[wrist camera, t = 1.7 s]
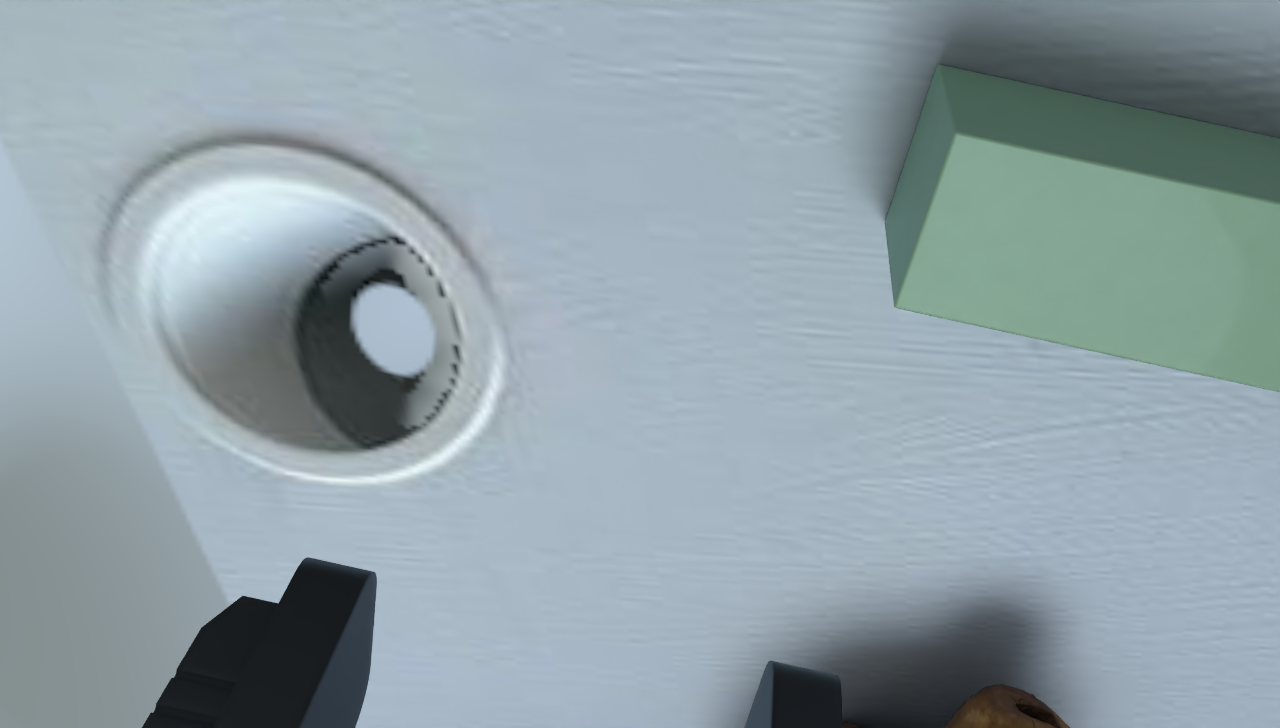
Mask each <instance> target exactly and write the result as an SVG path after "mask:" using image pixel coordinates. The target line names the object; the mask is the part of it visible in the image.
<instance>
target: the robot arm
mask: <svg viewBox="0 0 1280 728" xmlns="http://www.w3.org/2000/svg"><path fill="white" fill-rule="evenodd" d="M376 586H377V578H376V573H375V572H372V571H367V570H363V569H358V568H354V567H349V566H345V565H340V564H336V563H331V562H327V561H322V560H317V559H313V558H308V557H307V558H305V559H304V560H303V561H302V562H301V564H300V565H299V567H298V568H297V570H296V572H295V574H294V576H293V577H292V579H291V581H290V583H289V585H288V587H287V589H286V591H285V592H284V594H283V596H282V598H281V600H280V602H279V604H278V603H273V602H269V601H264V600H260V599H255V598H251V597H246V596H242V597H241V598H239V599H238V600H237V601H235V602H234V603H233V604H232V605H230V606H229V607H228V608H226V609H225V610H224V611H223V612H221V613H220V614H219V615H217V616H216V617H215V618H213V619H212V620H211V621H210V622H208V623H207V624H206V625H204V626H203V627H202V628H201V630H200V631H199V633H198V635H197V636H196V638H195V640H194V641H193V643H192V645H191V646H190V648H189V650H188V651H187V653H186V655H185V657H184V658H183V660H182V661H181V663H180V665H179V666H178V668H177V672H176V675H175V677H174V678H172V679H171V680H170V681H169V683H168V685H167V687H166V688H165V690H164V692H163V693H162V695H161V697H160V698H159V700H158V702H157V703H156V708H155V711H154V713H150V715H149V717H148V718H147V720H146V722H145V723H144V725H143V727H142V728H355V726H356V723H357V721H358V718H359V715H360V712H361V708H362V705H363V701H364V697H365V694H366V689H367V685H368V680H369V674H370V666H371V653H372V640H373V626H374V613H375V600H376ZM745 728H842V696H841V683H840V679H839V677H838V676H837V675H833V674H828V673H824V672H819V671H815V670H810V669H806V668H801V667H797V666H792V665H788V664H783V663H779V662H774V661H769V662H768V664H767V666H766V668H765V671H764V673H763V676H762V679H761V682H760V685H759V688H758V691H757V693H756V696H755V699H754V702H753V705H752V708H751V711H750V714H749V716H748V719H747V722H746V725H745Z"/></svg>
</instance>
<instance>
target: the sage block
mask: <svg viewBox="0 0 1280 728" xmlns="http://www.w3.org/2000/svg"><path fill="white" fill-rule="evenodd" d="M885 228H886V237H887V246H888V255H889V264H890V273H891V282H892V291H893V300H894V307H896V308H898V309H903V310H907V311H912V312H917V313H921V314H926V315H930V316H935V317H939V318H944V319H948V320H953V321H958V322H962V323H967V324H971V325H976V326H980V327H985V328H990V329H994V330H999V331H1003V332H1008V333H1012V334H1017V335H1022V336H1026V337H1031V338H1035V339H1040V340H1044V341H1049V342H1053V343H1058V344H1063V345H1067V346H1072V347H1076V348H1081V349H1085V350H1090V351H1095V352H1099V353H1104V354H1108V355H1113V356H1117V357H1122V358H1127V359H1131V360H1136V361H1140V362H1145V363H1149V364H1154V365H1158V366H1163V367H1168V368H1172V369H1177V370H1181V371H1186V372H1190V373H1195V374H1200V375H1204V376H1209V377H1213V378H1218V379H1222V380H1227V381H1232V382H1236V383H1241V384H1245V385H1250V386H1254V387H1259V388H1263V389H1268V390H1273V391H1277V392H1280V138H1275V137H1270V136H1266V135H1261V134H1257V133H1252V132H1247V131H1243V130H1238V129H1234V128H1229V127H1224V126H1220V125H1215V124H1211V123H1206V122H1201V121H1197V120H1192V119H1188V118H1183V117H1179V116H1174V115H1169V114H1165V113H1160V112H1156V111H1151V110H1146V109H1142V108H1137V107H1133V106H1128V105H1123V104H1119V103H1114V102H1110V101H1105V100H1101V99H1096V98H1091V97H1087V96H1082V95H1078V94H1073V93H1068V92H1064V91H1059V90H1055V89H1050V88H1045V87H1041V86H1036V85H1032V84H1027V83H1022V82H1018V81H1013V80H1009V79H1004V78H1000V77H995V76H990V75H986V74H981V73H977V72H972V71H967V70H963V69H958V68H954V67H949V66H944V65H938V66H937V67H936V69H935V72H934V75H933V78H932V81H931V84H930V87H929V90H928V93H927V97H926V100H925V103H924V106H923V109H922V112H921V115H920V118H919V121H918V124H917V127H916V130H915V133H914V136H913V139H912V142H911V145H910V148H909V151H908V154H907V157H906V160H905V163H904V166H903V169H902V173H901V176H900V179H899V182H898V185H897V188H896V191H895V194H894V197H893V200H892V203H891V206H890V209H889V212H888V215H887V218H886V221H885Z"/></svg>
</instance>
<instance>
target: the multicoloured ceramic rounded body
mask: <svg viewBox="0 0 1280 728" xmlns="http://www.w3.org/2000/svg"><path fill="white" fill-rule="evenodd" d="M842 728H860V727H858V726H855V725H853V724H851V723H848V722H846V721H844V722H842ZM944 728H1070V727H1069V726H1068V725H1067V724H1066V723H1065V722H1064V721H1063V720H1062V719H1061V718H1060V717H1059V716H1058V715H1057V714H1056V713H1055V712H1054V711H1052V710H1051V709H1050V708H1049V707H1048V706H1047V705H1046V704H1044V703H1043V702H1042V701H1040V700H1038V699H1037V698H1036V697H1035V696H1034V695H1032V694H1029V693H1027V692H1025V691H1023V690H1020V689H1017V688H1014V687H1010V686H1007V685H1003V684H1001V685H992V686H987V687H985V688H983V689H982V690H980V691H979V692H977V693H976V694H974V695H972V696H971V697H970V698H969V699H968V700H967V701H966V702H965V703H964V704H963V705H962V706H961V707H960V708H959V709H958V711H957V712H956V713H955V715H954V716H953V717H952V718H951V720H950V721H949V722H948V723H947V724H946V725H945V727H944Z"/></svg>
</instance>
